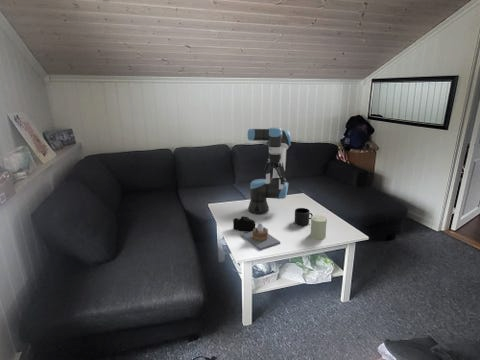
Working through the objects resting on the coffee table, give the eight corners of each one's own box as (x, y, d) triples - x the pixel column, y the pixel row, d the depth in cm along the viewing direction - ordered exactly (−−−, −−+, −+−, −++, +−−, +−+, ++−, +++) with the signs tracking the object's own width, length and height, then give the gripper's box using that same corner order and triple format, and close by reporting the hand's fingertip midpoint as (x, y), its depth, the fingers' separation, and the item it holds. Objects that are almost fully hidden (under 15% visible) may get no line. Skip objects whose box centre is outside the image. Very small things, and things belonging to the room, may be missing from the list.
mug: (314, 225, 192) (315, 212, 189) (297, 226, 191) (297, 213, 188) (309, 219, 201) (310, 207, 198) (292, 220, 200) (293, 208, 197)
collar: (250, 236, 176) (250, 229, 175) (261, 233, 180) (262, 225, 179) (258, 242, 169) (258, 234, 168) (270, 238, 174) (270, 231, 172)
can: (308, 232, 183) (309, 214, 179) (322, 231, 183) (323, 214, 180) (312, 239, 174) (314, 221, 170) (328, 239, 174) (329, 220, 171)
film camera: (258, 226, 192) (258, 214, 189) (254, 233, 183) (254, 220, 181) (236, 223, 197) (236, 211, 194) (231, 230, 188) (231, 217, 185)
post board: (241, 235, 180) (241, 219, 177) (260, 230, 187) (260, 214, 184) (260, 250, 164) (260, 232, 161) (280, 243, 170) (280, 226, 167)
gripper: (258, 150, 189) (258, 182, 195) (282, 157, 168) (282, 192, 174) (267, 149, 192) (267, 180, 199) (293, 156, 172) (291, 190, 178)
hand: (274, 186), depth 187 cm, fingers open, 13 cm apart
